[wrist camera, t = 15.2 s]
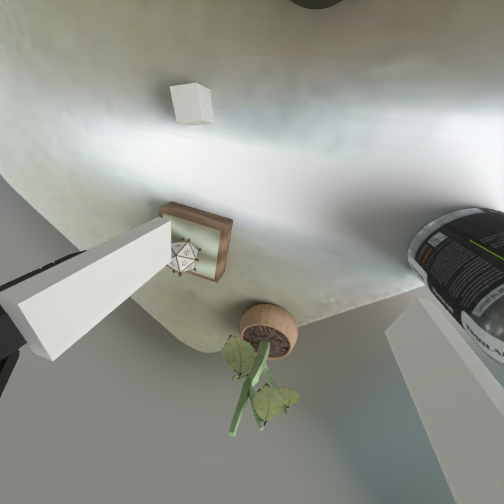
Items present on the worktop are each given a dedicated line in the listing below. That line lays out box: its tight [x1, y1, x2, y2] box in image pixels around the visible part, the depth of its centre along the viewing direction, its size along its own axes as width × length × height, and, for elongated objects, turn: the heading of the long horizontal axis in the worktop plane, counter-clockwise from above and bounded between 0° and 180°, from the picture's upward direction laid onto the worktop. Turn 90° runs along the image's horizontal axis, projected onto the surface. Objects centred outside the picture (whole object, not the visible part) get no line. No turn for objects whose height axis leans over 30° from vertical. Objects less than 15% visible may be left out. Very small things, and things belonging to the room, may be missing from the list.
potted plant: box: [222, 304, 300, 437], centre depth 45 cm, size 22×18×30 cm
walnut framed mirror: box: [159, 202, 233, 283], centre depth 48 cm, size 16×16×5 cm
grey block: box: [170, 83, 214, 125], centre depth 34 cm, size 5×5×5 cm
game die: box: [167, 238, 202, 276], centre depth 43 cm, size 9×8×10 cm
